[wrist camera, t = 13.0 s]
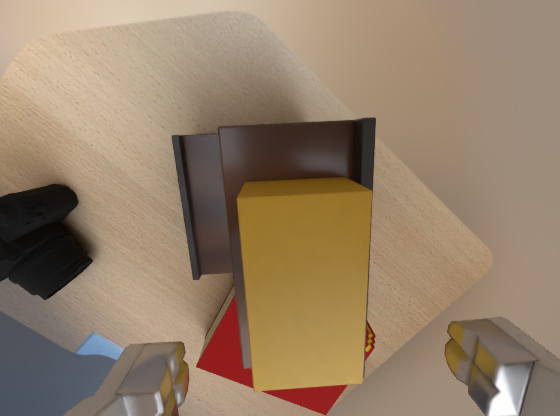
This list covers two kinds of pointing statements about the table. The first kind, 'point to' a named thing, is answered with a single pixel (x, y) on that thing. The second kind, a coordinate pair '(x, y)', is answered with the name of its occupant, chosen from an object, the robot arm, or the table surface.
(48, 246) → the film camera
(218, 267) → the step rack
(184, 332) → the table surface
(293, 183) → the yellow box
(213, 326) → the book
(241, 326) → the top shelf
